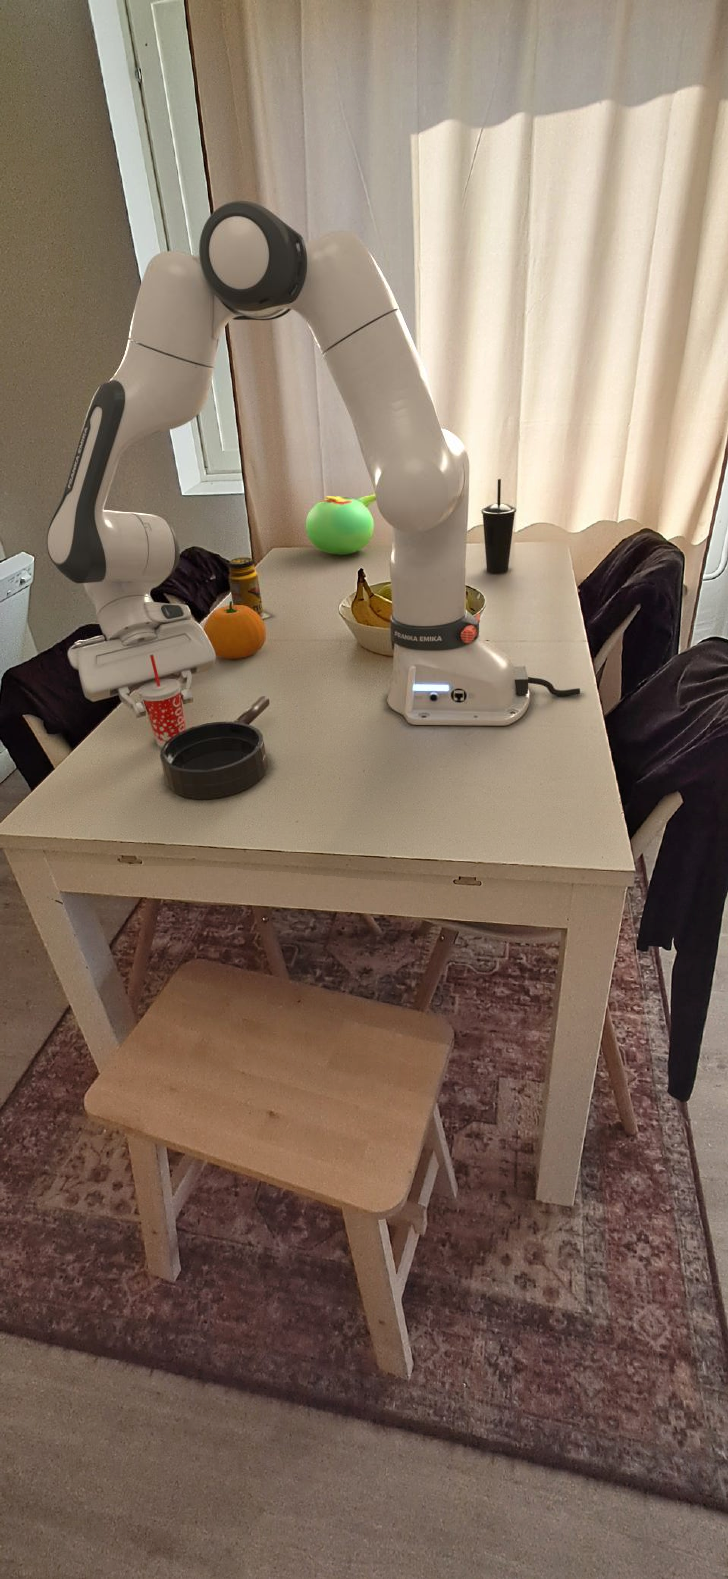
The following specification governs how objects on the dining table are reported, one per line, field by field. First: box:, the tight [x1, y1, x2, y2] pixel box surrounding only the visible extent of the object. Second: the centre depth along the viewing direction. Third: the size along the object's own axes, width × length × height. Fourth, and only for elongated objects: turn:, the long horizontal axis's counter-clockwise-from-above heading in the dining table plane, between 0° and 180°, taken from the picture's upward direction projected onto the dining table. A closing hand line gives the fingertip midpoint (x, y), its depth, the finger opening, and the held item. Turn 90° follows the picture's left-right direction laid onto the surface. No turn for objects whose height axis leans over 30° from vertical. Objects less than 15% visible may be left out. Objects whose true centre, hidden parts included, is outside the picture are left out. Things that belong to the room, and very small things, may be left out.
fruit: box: [203, 600, 267, 660], centre depth 144 cm, size 12×12×10 cm
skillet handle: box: [230, 695, 271, 733], centre depth 115 cm, size 10×2×2 cm, turn 160°
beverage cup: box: [137, 655, 186, 748], centre depth 114 cm, size 6×6×14 cm
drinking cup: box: [480, 478, 517, 575], centre depth 172 cm, size 8×8×20 cm
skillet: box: [159, 721, 269, 800], centre depth 107 cm, size 14×14×4 cm
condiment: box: [227, 556, 271, 620], centre depth 160 cm, size 7×8×12 cm
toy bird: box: [305, 493, 376, 556], centre depth 196 cm, size 18×17×15 cm
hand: (165, 708), depth 114 cm, fingers closed on beverage cup, 6 cm apart
